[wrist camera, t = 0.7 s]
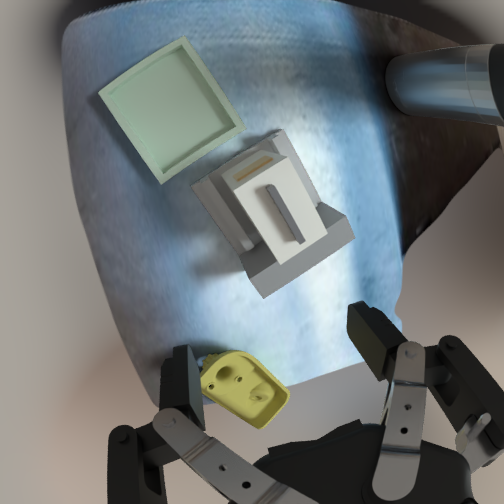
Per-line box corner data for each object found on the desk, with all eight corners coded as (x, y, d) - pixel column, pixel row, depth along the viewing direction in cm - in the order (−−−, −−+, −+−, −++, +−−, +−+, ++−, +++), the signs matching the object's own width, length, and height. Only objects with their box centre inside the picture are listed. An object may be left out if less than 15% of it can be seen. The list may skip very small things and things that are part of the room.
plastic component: (293, 395, 47) (257, 435, 43) (267, 376, 52) (233, 413, 49) (237, 338, 36) (185, 393, 33) (209, 318, 42) (164, 365, 39)
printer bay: (280, 129, 31) (304, 129, 24) (327, 218, 37) (355, 237, 30) (190, 185, 31) (191, 199, 25) (249, 269, 37) (263, 298, 31)
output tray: (184, 40, 24) (184, 35, 22) (243, 128, 30) (246, 128, 28) (103, 94, 25) (97, 92, 23) (162, 181, 30) (161, 184, 29)
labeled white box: (259, 148, 30) (291, 155, 21) (294, 207, 34) (332, 237, 25) (219, 173, 30) (233, 191, 21) (257, 231, 34) (283, 269, 25)
